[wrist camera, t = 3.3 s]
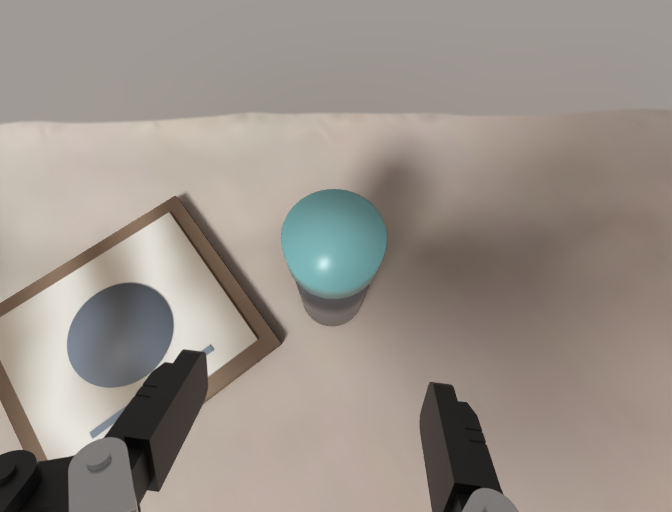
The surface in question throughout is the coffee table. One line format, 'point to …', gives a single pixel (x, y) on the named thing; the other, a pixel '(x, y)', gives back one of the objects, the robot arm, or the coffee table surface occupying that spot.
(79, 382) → the board
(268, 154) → the coffee table surface
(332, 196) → the marker
